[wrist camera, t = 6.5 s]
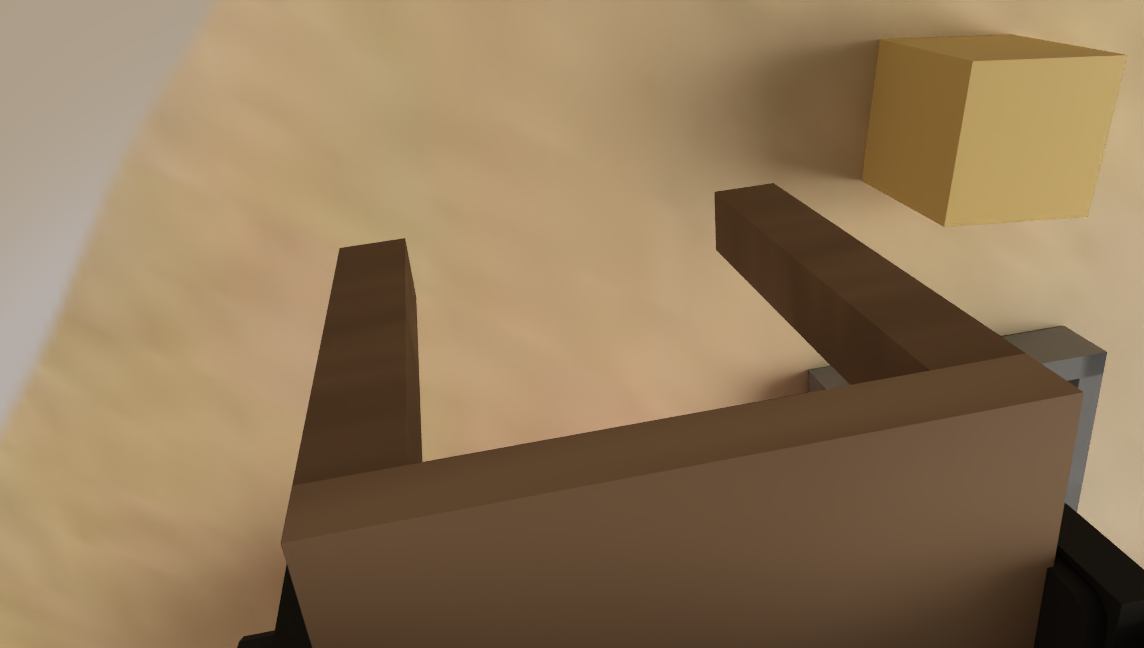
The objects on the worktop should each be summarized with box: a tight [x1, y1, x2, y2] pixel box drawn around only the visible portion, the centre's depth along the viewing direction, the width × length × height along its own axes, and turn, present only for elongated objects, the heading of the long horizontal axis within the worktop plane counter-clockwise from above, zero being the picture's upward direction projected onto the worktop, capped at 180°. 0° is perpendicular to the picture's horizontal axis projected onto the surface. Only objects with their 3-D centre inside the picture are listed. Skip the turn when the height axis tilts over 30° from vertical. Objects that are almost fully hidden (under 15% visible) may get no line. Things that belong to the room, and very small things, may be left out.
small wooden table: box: [281, 183, 1084, 648], centre depth 12 cm, size 7×7×7 cm
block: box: [861, 34, 1127, 227], centre depth 23 cm, size 4×4×4 cm
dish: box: [808, 326, 1107, 512], centre depth 30 cm, size 9×9×2 cm
